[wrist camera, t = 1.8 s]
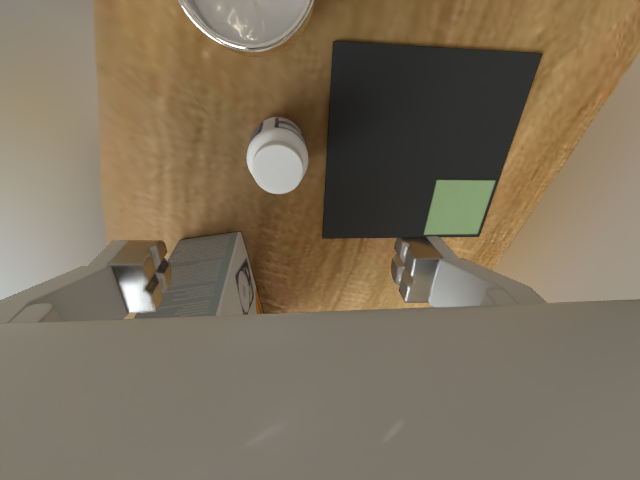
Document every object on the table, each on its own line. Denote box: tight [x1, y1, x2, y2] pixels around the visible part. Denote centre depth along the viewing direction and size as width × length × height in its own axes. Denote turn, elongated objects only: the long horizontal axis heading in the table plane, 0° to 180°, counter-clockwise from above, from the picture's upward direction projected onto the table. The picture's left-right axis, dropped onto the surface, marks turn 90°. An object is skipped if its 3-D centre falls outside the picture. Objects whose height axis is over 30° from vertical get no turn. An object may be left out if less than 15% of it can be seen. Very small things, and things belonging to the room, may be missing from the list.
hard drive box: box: [134, 232, 263, 319], centre depth 31 cm, size 16×8×20 cm, turn 7°
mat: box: [322, 41, 542, 238], centre depth 33 cm, size 20×20×1 cm
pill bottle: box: [247, 117, 308, 194], centre depth 28 cm, size 5×5×9 cm
